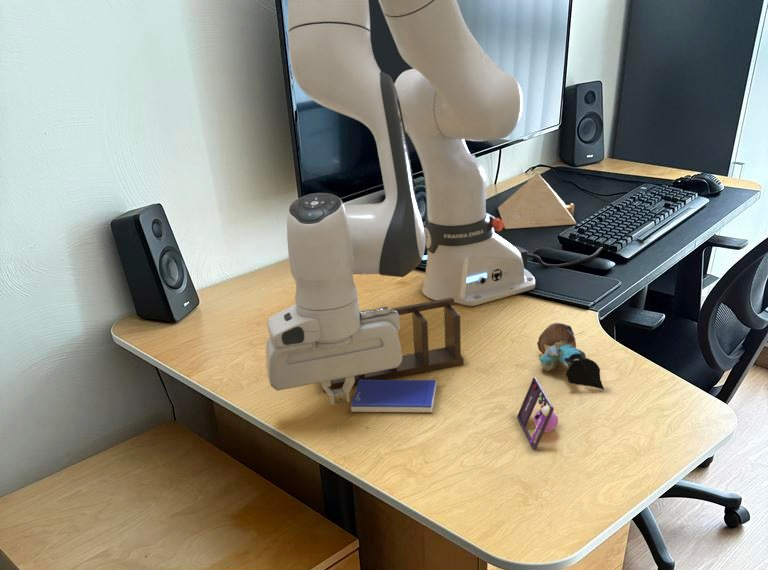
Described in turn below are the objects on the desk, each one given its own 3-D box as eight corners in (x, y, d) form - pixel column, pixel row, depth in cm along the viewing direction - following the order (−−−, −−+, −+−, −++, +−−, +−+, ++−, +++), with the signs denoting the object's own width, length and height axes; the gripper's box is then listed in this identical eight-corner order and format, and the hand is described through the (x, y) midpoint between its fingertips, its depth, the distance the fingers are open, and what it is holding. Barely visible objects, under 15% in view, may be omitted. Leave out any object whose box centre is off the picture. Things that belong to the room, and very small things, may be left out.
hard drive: (350, 404, 117) (431, 404, 115) (359, 378, 123) (436, 378, 121) (351, 412, 118) (431, 413, 116) (360, 386, 124) (436, 387, 122)
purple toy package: (529, 376, 109) (546, 407, 102) (561, 382, 110) (581, 413, 103) (512, 416, 113) (528, 448, 106) (544, 422, 114) (562, 455, 107)
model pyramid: (579, 224, 179) (583, 179, 173) (505, 229, 180) (506, 184, 174) (567, 203, 192) (570, 160, 186) (497, 208, 193) (498, 166, 187)
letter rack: (453, 351, 132) (452, 297, 126) (463, 364, 128) (463, 308, 122) (317, 378, 128) (309, 323, 122) (323, 392, 124) (316, 336, 118)
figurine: (569, 348, 130) (572, 314, 126) (606, 391, 117) (610, 355, 114) (527, 354, 129) (528, 320, 125) (558, 398, 117) (561, 362, 113)
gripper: (392, 296, 114) (398, 379, 122) (256, 321, 110) (272, 404, 119) (404, 312, 109) (410, 398, 117) (262, 338, 105) (278, 424, 114)
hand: (339, 401), depth 118 cm, fingers closed
